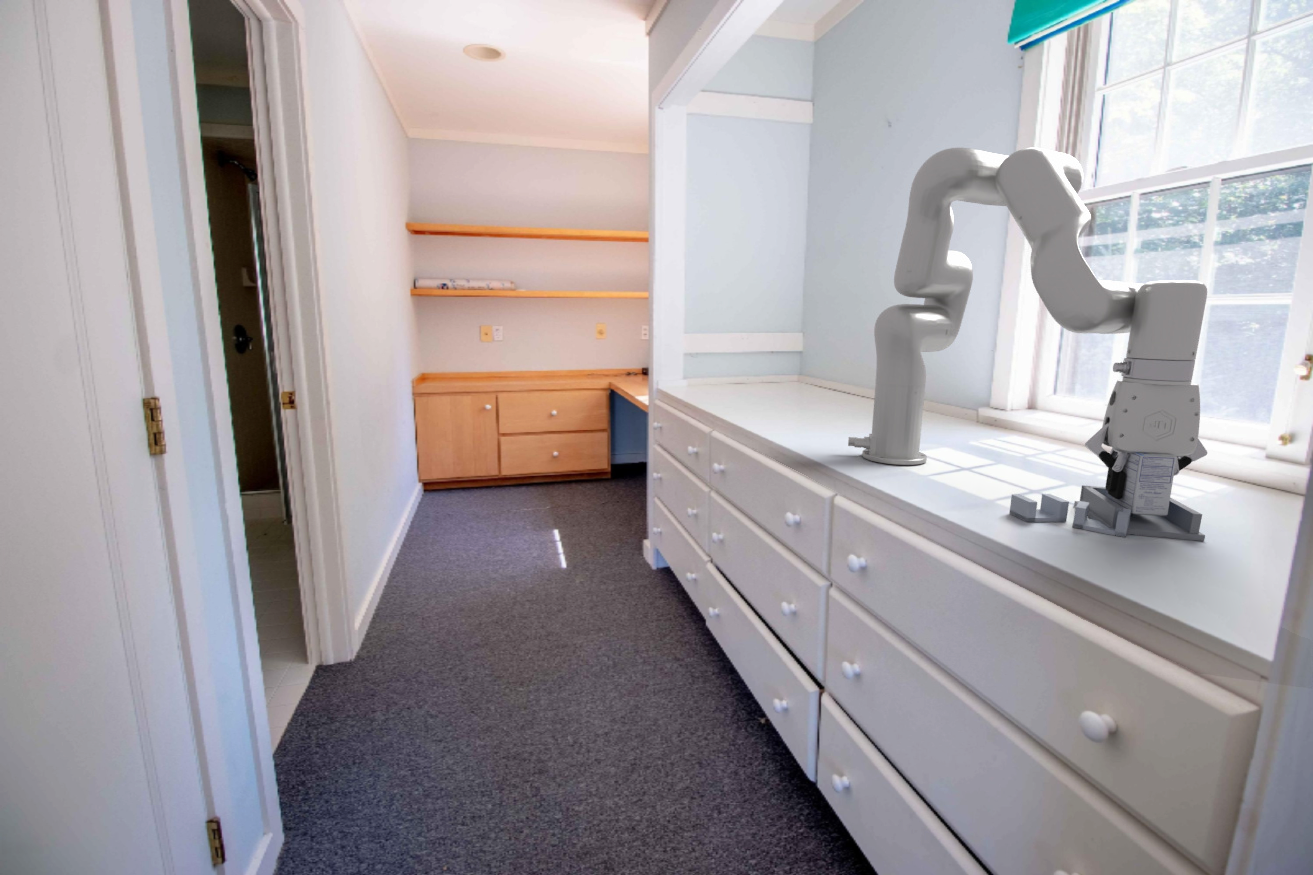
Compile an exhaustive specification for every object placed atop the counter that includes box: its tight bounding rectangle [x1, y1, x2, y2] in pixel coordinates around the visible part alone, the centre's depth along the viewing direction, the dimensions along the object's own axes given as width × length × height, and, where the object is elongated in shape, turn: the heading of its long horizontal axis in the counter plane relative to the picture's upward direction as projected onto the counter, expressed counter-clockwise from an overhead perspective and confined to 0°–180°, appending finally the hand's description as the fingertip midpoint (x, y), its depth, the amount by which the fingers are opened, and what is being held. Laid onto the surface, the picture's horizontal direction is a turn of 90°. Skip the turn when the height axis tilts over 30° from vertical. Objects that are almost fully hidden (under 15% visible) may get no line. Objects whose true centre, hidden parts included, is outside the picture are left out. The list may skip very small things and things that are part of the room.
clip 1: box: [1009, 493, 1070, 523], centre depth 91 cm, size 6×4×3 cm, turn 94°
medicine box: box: [1106, 453, 1176, 516], centre depth 88 cm, size 8×4×9 cm, turn 168°
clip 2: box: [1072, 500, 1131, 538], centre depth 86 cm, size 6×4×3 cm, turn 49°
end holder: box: [1073, 484, 1206, 542], centre depth 89 cm, size 11×13×4 cm
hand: (1136, 496), depth 89 cm, fingers closed on medicine box, 4 cm apart
